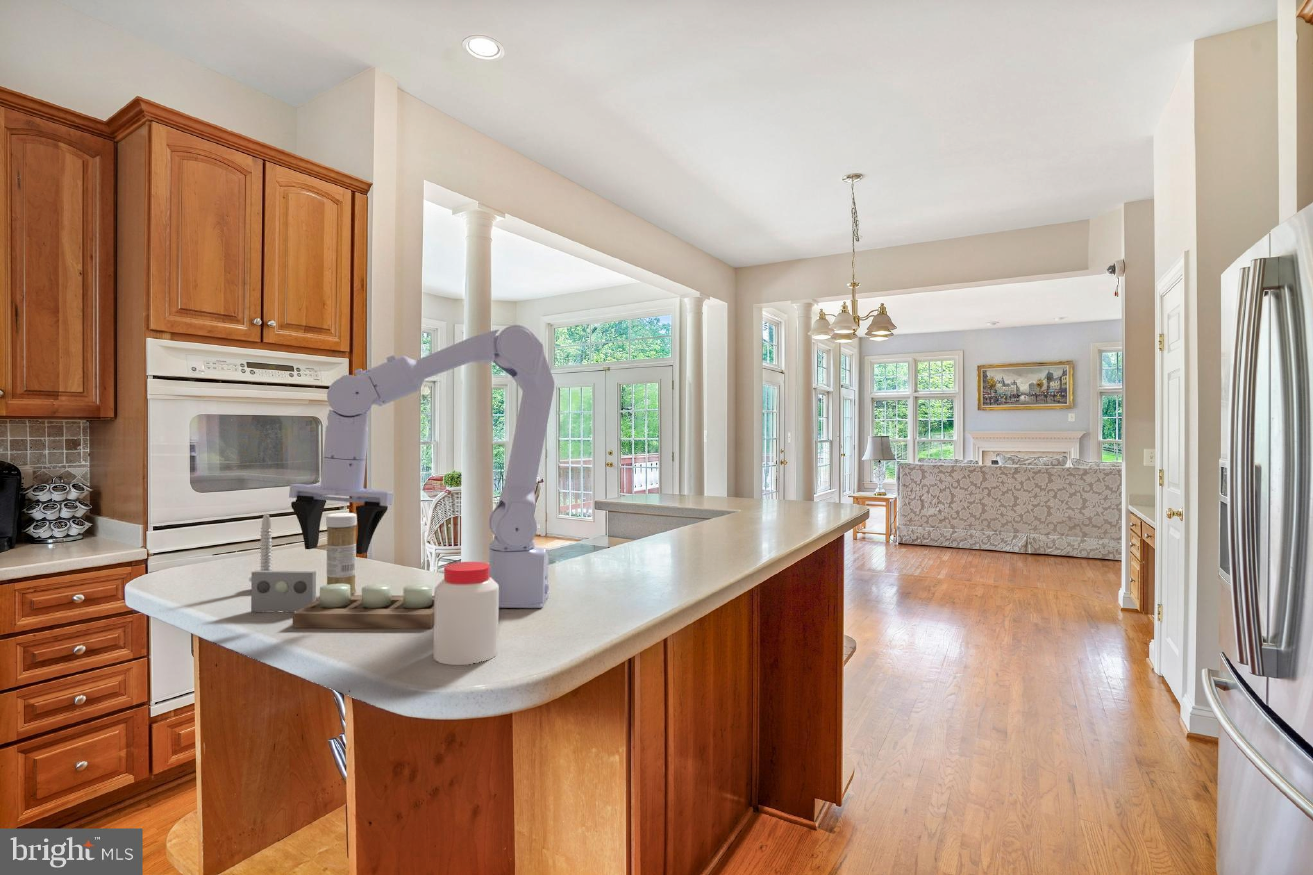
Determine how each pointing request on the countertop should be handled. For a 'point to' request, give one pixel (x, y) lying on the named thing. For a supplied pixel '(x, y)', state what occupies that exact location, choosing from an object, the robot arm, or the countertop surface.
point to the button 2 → (417, 596)
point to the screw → (265, 545)
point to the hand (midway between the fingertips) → (336, 550)
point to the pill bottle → (466, 614)
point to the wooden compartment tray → (364, 615)
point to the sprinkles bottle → (341, 549)
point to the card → (282, 590)
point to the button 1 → (334, 595)
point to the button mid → (376, 595)
